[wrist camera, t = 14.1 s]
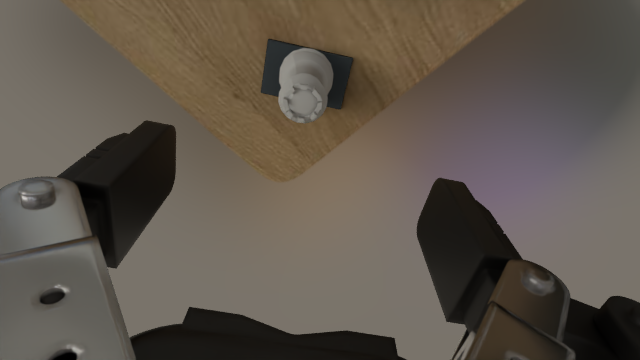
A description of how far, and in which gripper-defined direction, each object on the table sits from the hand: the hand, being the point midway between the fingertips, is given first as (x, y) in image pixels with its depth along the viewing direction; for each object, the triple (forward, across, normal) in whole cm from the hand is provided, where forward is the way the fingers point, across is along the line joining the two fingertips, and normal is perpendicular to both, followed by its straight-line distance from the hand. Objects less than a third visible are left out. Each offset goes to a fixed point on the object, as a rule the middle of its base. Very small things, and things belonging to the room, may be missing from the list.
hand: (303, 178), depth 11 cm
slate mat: (+21, 0, +2) cm, 21 cm away
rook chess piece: (+21, 0, +2) cm, 21 cm away
